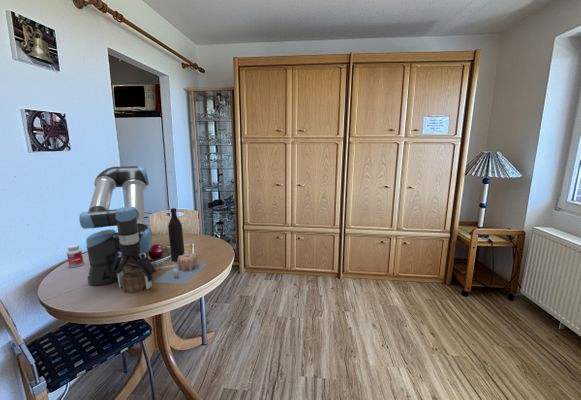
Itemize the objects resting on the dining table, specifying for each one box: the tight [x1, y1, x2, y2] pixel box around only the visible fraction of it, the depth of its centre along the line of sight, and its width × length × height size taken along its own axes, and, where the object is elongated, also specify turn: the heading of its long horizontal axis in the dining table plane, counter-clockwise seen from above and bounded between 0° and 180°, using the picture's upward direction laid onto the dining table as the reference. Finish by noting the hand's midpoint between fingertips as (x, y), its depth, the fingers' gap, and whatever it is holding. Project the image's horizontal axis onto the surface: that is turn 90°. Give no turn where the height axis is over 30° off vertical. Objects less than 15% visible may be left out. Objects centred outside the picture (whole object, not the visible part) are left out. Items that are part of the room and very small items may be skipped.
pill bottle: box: [66, 244, 84, 268], centre depth 143 cm, size 6×6×11 cm
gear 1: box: [121, 270, 146, 294], centre depth 120 cm, size 10×10×6 cm
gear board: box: [153, 262, 207, 285], centre depth 133 cm, size 16×22×5 cm
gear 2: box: [177, 252, 198, 271], centre depth 138 cm, size 10×10×7 cm
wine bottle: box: [167, 207, 185, 263], centre depth 147 cm, size 7×7×30 cm
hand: (135, 286), depth 121 cm, fingers open, 13 cm apart
